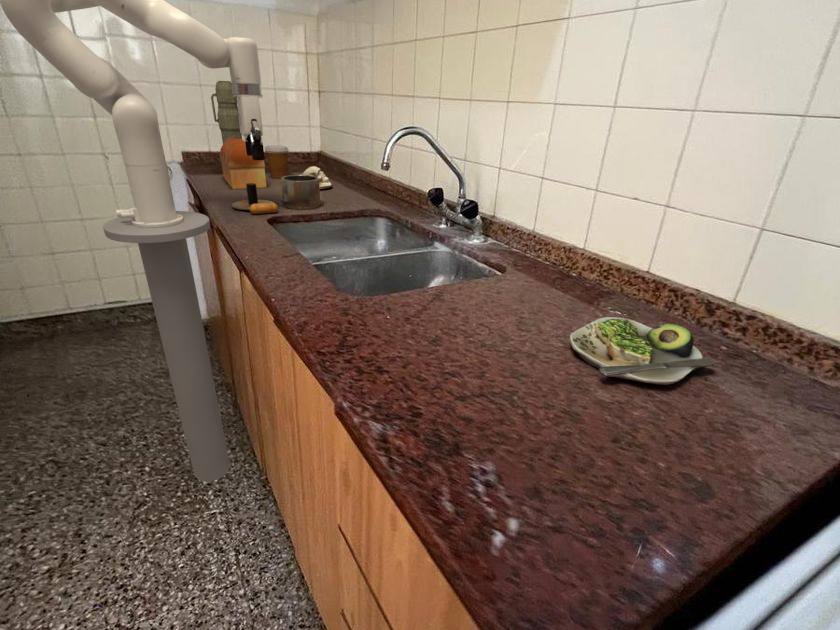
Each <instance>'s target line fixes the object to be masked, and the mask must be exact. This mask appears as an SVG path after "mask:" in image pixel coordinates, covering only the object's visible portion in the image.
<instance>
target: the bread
mask: <svg viewBox="0 0 840 630" xmlns="http://www.w3.org/2000/svg"><path fill="white" fill-rule="evenodd" d="M245 141H246V140H245V139H244V140H243V138H242V139H228V140H227V141H226V142H224V144H223V143H222V146H221V147H220V151H219V159H220V161H221V167H222V176H223V179H224V180H225V182H227V183H228V184H229V187H230V188H231V189H232V190H240V189H242V190H243V189H247V187H246V184H248V183H255V184H256V189H257V188H258V189H259V188H267V180H266V179H267V178H266V164H265V160H253V159H252V156H248V155H247V152H246V144H245Z"/></svg>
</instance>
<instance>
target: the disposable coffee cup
mask: <svg viewBox="0 0 840 630" xmlns="http://www.w3.org/2000/svg"><path fill="white" fill-rule="evenodd" d="M289 151H290V150H289V148H288V146H287V145H274V144H273V145H266V146H264V153H265V155H266V160H267V164H268V169H269V173H270V177H271V178H273V179H281V178H282V177H284V176H288V161H289V160H288V158H289V157H288V156H289Z"/></svg>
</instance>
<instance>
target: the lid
mask: <svg viewBox="0 0 840 630" xmlns="http://www.w3.org/2000/svg"><path fill="white" fill-rule="evenodd" d="M246 187H247V188H246V192H247V193H246V195H247V199H241V200H238V201H237V200H236V201H235V202H232V203H231V207H232V208H233V209H236V210H239V211H240V210H241V211H247V212H248V211H249V212H251V211H250V206H251V205H252V204H258V203H275V202H274V201H272V200H267V199H259V198H258V189H257V188H256V184H255V183H248V184H246Z"/></svg>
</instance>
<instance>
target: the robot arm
mask: <svg viewBox="0 0 840 630" xmlns="http://www.w3.org/2000/svg"><path fill="white" fill-rule="evenodd" d="M0 7H1V9H2V11H3V13H4V15H5V16H6V18H7V19H8V21H9V22H10V24H11V25H12V27H13V28H14V29H15V30H16V31H17V33H18V34H19V35H20V36H21V37H22V38H23V39H24V40H25V41H26V42H27V43H28V44H29V45H30V46H31V47H32V48H34V49H35V50H36V51H37V52H38V53H39V54H40V55H41V56H42V57H43V58H44V59H45V60H46V61H47V62H48V63H49V64H50V65H51V66H53V68H54V69H56V70H57V71H58V72H59V73H61V75H62V76H64V77H65V78H66V79H67V80H68V81H69V83H71V84H72V85H73V86H74V87H75V88H76V89H77V91H79V92H80V93H81V94H83V95H84V96H86V97H88V98H91V99H93V100H94V101H95V102H96V103H97V104H98V105H99V106H100V107H102V109H104V110H105V111H106V112H107V113H108V114H109V115H110V116H111V117H112V122H113V127H114V130H115V134H116V138H117V141H118V144H119V149H120V152H121V156H122V161H123V165H124V168H125V173H126V177H127V180H128V185H129V189H130V193H131V197H132V202H133V207H129V209H125V208H123V209H116V210H115V211H116V212H115V213H116V217H117V218H119V217H122V218H128V217H132V218H133V219H132V220H131V222H132V225H134V226H136V227H141V228H160V227H168V226H173V225H177V224H180V223H181V222H183V221H184V219H183V216H182V215H180V214H176V211H177V210H176V206H175V201H174V196H173V190H172V186H171V180H170V176H169V175H170V174H169V170H168V166H167V160H166V156H165V150H164V146H163V142H162V135H161V130H160V124H159V117H158V112H157V110H156V109H155V106H154V105H153V103H151V102H150V100H148V98H147V97H145V95H144V94H142V93H141V92H140V91H139V90H138V89H137V88H136V87H135V86H134V85H133V84H132V83H131V82H130V81H129V79H127V78H126V77H125V76H124V75H123V74H122V73H121V72H120V71H119V70H118V69H117V68H115V67H114V65H113V64H111V63H110V62H109V61H107V60H106V59H105V58H102V57H100V56H98V55H97V54H96V53H95V52H94V51H93V50H92V49H90V47H89V46H87V45H86V44H85V43H84V42H83V41H82V40H81V39H80V38H79V37H78V36H77V35H76V34H75V32H73V30H71V29H70V28H69V27H68V26H67V25H66V24H65V23H64V22H63V21H62V20H61V19H60V18H59V17H58V16H57V15H56V14H57V13H58V14H59V13H64V12H72V11H77V10H86V9H92V8H96V7H101V8H103V9H104V10H106V11H107V12H110V13H111V14H113V15H115V16H116V17H118V18H120V19H121V20H124V21H125V22H127V23H128V24H130V25H132V26H133V27H135V28H137V29H138V30H140V31H142V32H144V33H146V34H147V35H150V36H153V37H155V38H159V39H161V40H164V41H166V42H168V43H169V44H171V45H173V46H175V47H177V48H178V49H180V50H182V51H184V52H185V53H187V54H189V55H191V56H192V57H194V58H195V59H197V61H198V62H199V63H200V64H201V65H203V66H204V67H205V68H209V69H213V70H214V69H223V68H228V69H229V76H230V81H231V83H232V90H233V97H237V107H238V116H239V126H240V133H241V134H242V137H244V141H245V144H246V152H247V155H248V156H252V159H253V160H264V161H265V147H264V144H263V138H262V137H263V135H264V129H263V120H262V112H261V103H260V99H259V98H264V97H263V87H262V78H261V69H260V61H259V60H260V59H259V53H258V52H259V51H258V45H257V42H256V40H254V39H252V38H251V37H250V38H249V37H243V36H231V37H228V38H224V37H222V36H221V35H220V34H218V33H217V32H216V31H214V30H212V29H211V28H209V26H206V25H204V24H203V23H202V22H201V21H198V20H197V19H195V18H194V17H192V16H191V15H189V14H187V13H186V12H184V11H182V10H180V9H179V8H177V7H175V6H173V5H172V4H170V3H168V2H167V1H166V0H0Z"/></svg>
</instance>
